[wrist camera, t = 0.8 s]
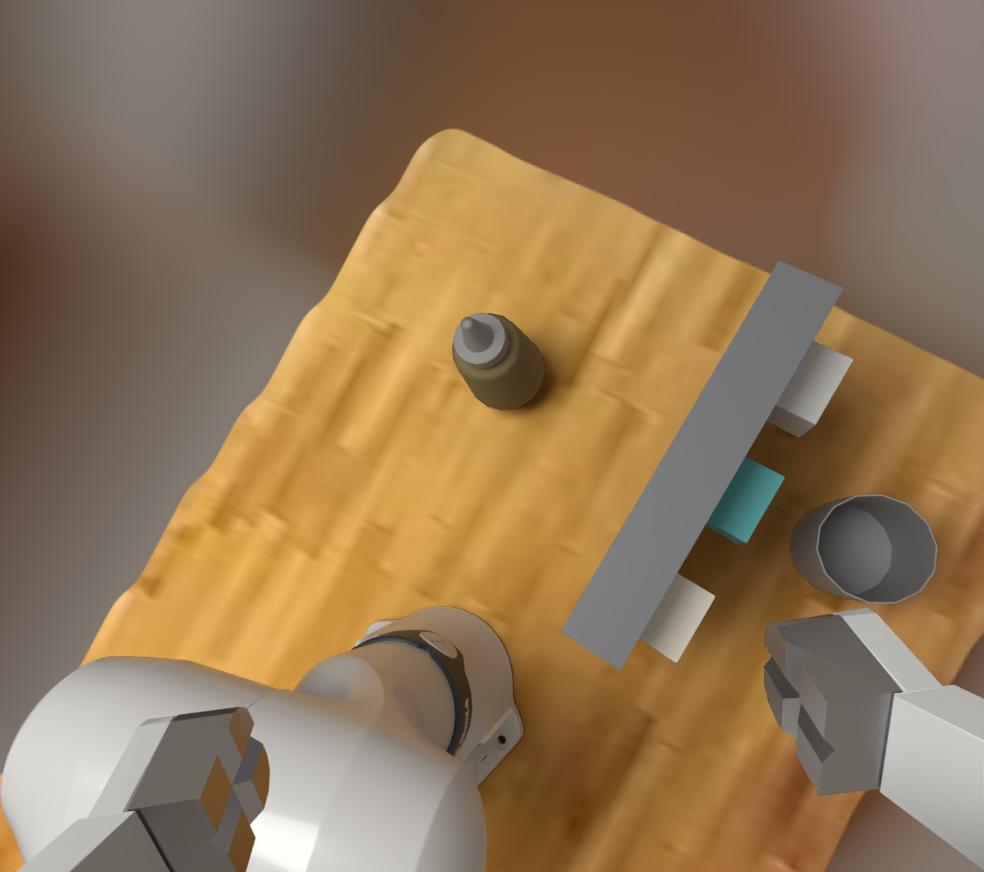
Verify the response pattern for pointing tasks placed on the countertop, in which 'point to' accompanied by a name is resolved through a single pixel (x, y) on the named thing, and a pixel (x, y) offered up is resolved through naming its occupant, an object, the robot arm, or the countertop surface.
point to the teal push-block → (744, 501)
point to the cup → (865, 549)
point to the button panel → (700, 463)
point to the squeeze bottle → (497, 361)
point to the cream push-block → (677, 617)
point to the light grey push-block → (809, 389)
